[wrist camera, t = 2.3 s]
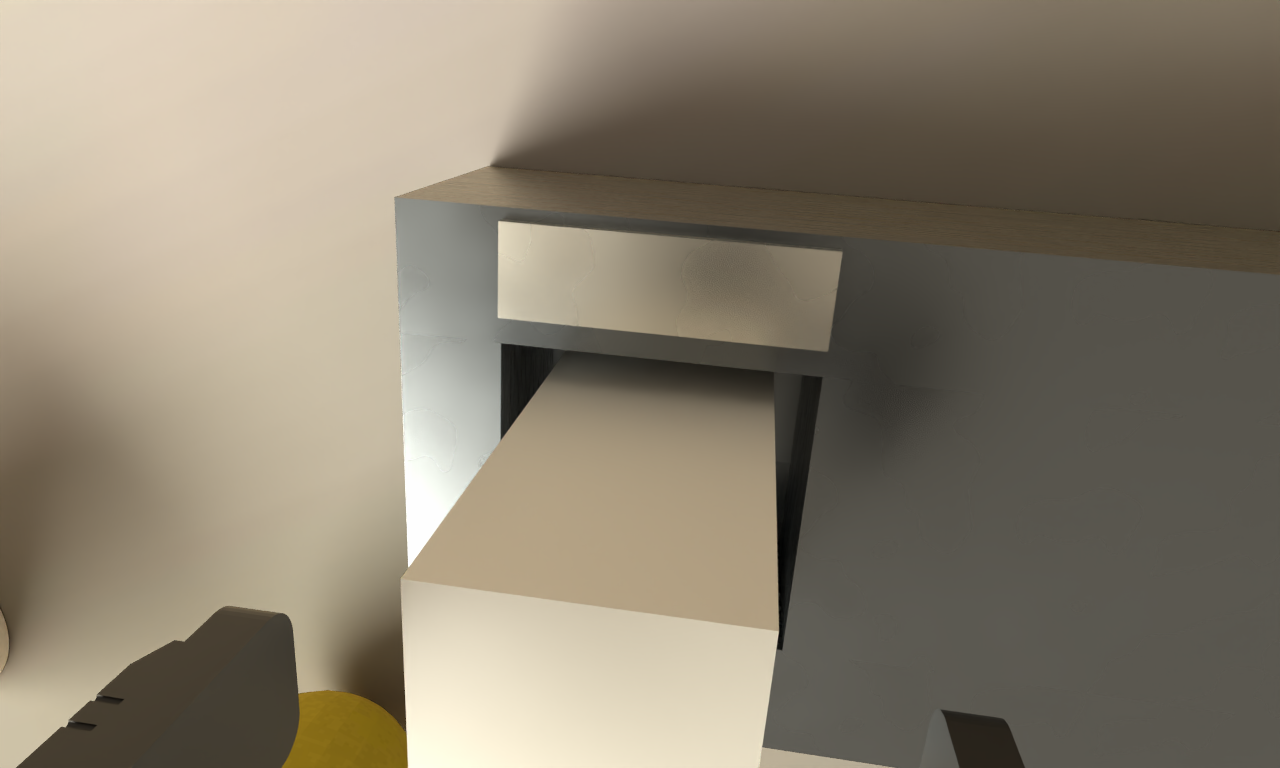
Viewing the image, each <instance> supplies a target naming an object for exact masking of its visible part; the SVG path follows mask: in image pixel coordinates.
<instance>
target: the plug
mask: <svg viewBox="0 0 1280 768" xmlns="http://www.w3.org/2000/svg"><path fill="white" fill-rule="evenodd" d="M400 583H401V607H402V631H403V656H404V680H405V704H406V728H407V752H408V768H759V766H760V759H761V752H762V745H763V738H764V731H765V724H766V717H767V710H768V703H769V697H770V690H771V683H772V676H773V669H774V662H775V655H776V648H777V641H778V634H779V610H778V561H777V512H776V463H775V414H774V372H769V371H760V370H750V369H741V368H731V367H722V366H713V365H703V364H694V363H684V362H675V361H665V360H656V359H646V358H637V357H627V356H618V355H608V354H599V353H589V352H580V351H571V350H566V352H565V353H564V354H563V356H562V357H561V358H560V360H559V361H558V363H557V364H556V365H555V367H554V368H553V369H552V371H551V372H550V374H549V375H548V376H547V378H546V379H545V380H544V382H543V383H542V385H541V386H540V387H539V389H538V390H537V391H536V393H535V394H534V396H533V397H532V398H531V400H530V401H529V402H528V404H527V405H526V407H525V408H524V409H523V411H522V412H521V414H520V415H519V416H518V418H517V419H516V420H515V422H514V423H513V425H512V426H511V427H510V429H509V430H508V431H507V433H506V434H505V436H504V437H503V438H502V440H501V441H500V442H499V444H498V445H497V447H496V448H495V449H494V451H493V452H492V453H491V455H490V456H489V458H488V459H487V460H486V462H485V463H484V464H483V466H482V467H481V469H480V470H479V471H478V473H477V474H476V475H475V477H474V478H473V480H472V481H471V482H470V484H469V485H468V486H467V488H466V489H465V491H464V492H463V493H462V495H461V496H460V498H459V499H458V500H457V502H456V503H455V504H454V506H453V507H452V509H451V510H450V511H449V513H448V514H447V515H446V517H445V518H444V520H443V521H442V522H441V524H440V525H439V526H438V528H437V529H436V531H435V532H434V533H433V535H432V536H431V537H430V539H429V540H428V542H427V543H426V544H425V546H424V547H423V548H422V550H421V551H420V553H419V554H418V555H417V557H416V558H415V559H414V561H413V562H412V564H411V565H410V566H409V568H408V569H407V570H406V572H405V573H404V575H403V576H402V577H401V579H400Z"/></svg>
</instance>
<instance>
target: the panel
mask: <svg viewBox="0 0 1280 768" xmlns="http://www.w3.org/2000/svg"><path fill="white" fill-rule="evenodd" d="M395 222H396V249H397V276H398V302H399V329H400V356H401V383H402V410H403V437H404V464H405V491H406V517H407V544H408V568H409V566H410V565H411V564H412V562H413V561H414V559H415V558H416V557H417V555H418V554H419V553H420V551H421V550H422V548H423V547H424V546H425V544H426V543H427V542H428V540H429V539H430V537H431V536H432V535H433V533H434V532H435V531H436V529H437V528H438V526H439V525H440V524H441V522H442V521H443V520H444V518H445V517H446V515H447V514H448V513H449V511H450V510H451V509H452V507H453V506H454V504H455V503H456V502H457V500H458V499H459V498H460V496H461V495H462V493H463V492H464V491H465V489H466V488H467V486H468V485H469V484H470V482H471V481H472V480H473V478H474V477H475V475H476V474H477V473H478V471H479V470H480V469H481V467H482V466H483V464H484V463H485V462H486V460H487V459H488V458H489V456H490V455H491V453H492V452H493V451H494V449H495V448H496V447H497V445H498V444H499V442H500V441H501V440H502V438H503V437H504V436H505V434H506V433H507V431H508V430H509V429H510V427H511V426H512V425H513V423H514V422H515V420H516V419H517V418H518V416H519V415H520V414H521V412H522V411H523V409H524V408H525V407H526V405H527V404H528V402H529V401H530V400H531V398H532V397H533V396H534V394H535V393H536V391H537V390H538V389H539V387H540V386H541V385H542V383H543V382H544V380H545V379H546V378H547V376H548V375H549V374H550V372H551V371H552V369H553V368H554V367H555V365H556V364H557V363H558V361H559V360H560V358H561V357H562V356H563V354H564V353H565V352H566V350H571V351H580V352H589V353H599V354H608V355H618V356H627V357H637V358H646V359H656V360H665V361H675V362H684V363H694V364H703V365H713V366H722V367H731V368H741V369H750V370H760V371H769V372H774V414H775V463H776V512H777V561H778V610H779V634H778V641H777V648H776V655H775V662H774V669H773V676H772V683H771V690H770V697H769V703H768V710H767V717H766V724H765V731H764V738H763V745H762V747H765V748H771V749H778V750H784V751H791V752H797V753H804V754H810V755H817V756H823V757H830V758H836V759H843V760H849V761H856V762H862V763H869V764H876V765H882V766H889V767H895V768H920V765H921V760H922V756H923V751H924V747H925V742H926V738H927V733H928V729H929V724H930V720H931V717H932V715H933V713H934V711H935V710H937V709H942V710H949V711H956V712H963V713H970V714H977V715H984V716H991V717H998V718H1002V719H1004V720H1005V721H1006V722H1007V724H1008V725H1009V728H1010V730H1011V732H1012V735H1013V738H1014V740H1015V743H1016V745H1017V748H1018V751H1019V753H1020V756H1021V758H1022V761H1023V764H1024V766H1025V768H1280V231H1269V230H1257V229H1244V228H1232V227H1220V226H1208V225H1196V224H1184V223H1172V222H1160V221H1147V220H1135V219H1123V218H1111V217H1099V216H1087V215H1075V214H1063V213H1050V212H1038V211H1026V210H1014V209H1002V208H990V207H978V206H966V205H954V204H941V203H929V202H917V201H905V200H893V199H881V198H869V197H857V196H844V195H832V194H820V193H808V192H796V191H784V190H772V189H760V188H747V187H735V186H723V185H711V184H699V183H687V182H675V181H663V180H650V179H638V178H626V177H614V176H602V175H590V174H578V173H566V172H553V171H541V170H529V169H517V168H505V167H493V166H487V167H484V168H481V169H478V170H475V171H472V172H469V173H466V174H463V175H460V176H457V177H454V178H451V179H448V180H445V181H442V182H439V183H436V184H433V185H430V186H427V187H424V188H421V189H418V190H415V191H412V192H409V193H406V194H403V195H400V196H397V197H395Z"/></svg>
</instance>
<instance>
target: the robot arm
mask: <svg viewBox="0 0 1280 768" xmlns="http://www.w3.org/2000/svg"><path fill="white" fill-rule="evenodd" d="M299 716H300V709H299V697H298V685H297V673H296V662H295V650H294V638H293V628H292V624H291V621H290V619H289V617H288V616H287V615H285V614H283V613H276V612H269V611H262V610H255V609H248V608H240V607H233V606H226V607H223V608H221V609H219V610H218V611H217V612H215V613H214V614H213V615H212V616H211V617H210V618H209V619H208V620H207V621H206V622H205V623H204V624H203V625H202V626H201V627H200V628H199V629H198V630H196V631H195V632H194V633H193V634H192V635H191V636H190V637H189V638H188V639H187V640H186V641H185V642H182V641H175V640H174V641H172V642H171V643H169V644H167V645H165V646H163V647H161V648H160V649H158V650H156V651H154V652H152V653H150V654H148V655H147V656H145V657H143V658H141V659H139V660H137V661H135V662H134V663H132V664H130V665H129V666H128V667H127V668H126V669H125V670H123V671H122V672H121V673H120V674H119V675H118V676H117V677H116V678H115V679H114V680H112V681H111V682H110V683H109V684H108V685H107V686H106V687H105V688H104V689H102V690H101V691H100V692H99V693H98V694H97V698H96V700H95V701H89V702H88V703H87V704H86V705H85V706H84V707H83V708H82V709H80V710H79V711H78V712H77V713H76V714H75V715H74V716H73V717H72V718H70V719H69V722H68V725H67V726H66V728H65V727H61V728H59V729H58V730H57V731H56V732H55V733H54V734H53V735H52V736H51V737H50V738H48V739H47V740H46V741H45V742H44V743H43V744H42V745H41V746H40V747H38V748H37V749H36V750H35V751H34V752H33V753H32V754H31V755H30V756H29V757H27V758H26V759H25V760H24V761H23V762H22V763H21V764H20V765H19V766H17V767H16V768H282V766H283V765H284V763H285V762H286V760H287V758H288V756H289V754H290V752H291V750H292V747H293V744H294V742H295V738H296V735H297V730H298V725H299ZM920 768H1025V766H1024V764H1023V761H1022V758H1021V756H1020V753H1019V751H1018V748H1017V745H1016V743H1015V740H1014V738H1013V735H1012V732H1011V730H1010V728H1009V725H1008V724H1007V722H1006V721H1005V720H1004V719H1002V718H998V717H991V716H984V715H977V714H970V713H963V712H956V711H949V710H942V709H937V710H935V711H934V713H933V715H932V717H931V720H930V724H929V729H928V733H927V738H926V742H925V747H924V751H923V756H922V760H921V765H920Z"/></svg>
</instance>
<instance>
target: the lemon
mask: <svg viewBox="0 0 1280 768" xmlns="http://www.w3.org/2000/svg"><path fill="white" fill-rule="evenodd" d="M298 697H299V709H300V716H299V725H298V730H297V735H296V738H295V742H294V744H293V747H292V750H291V752H290V754H289V756H288V758H287V760H286V762H285V763H284V765H283V766H282V768H408V752H407V733H406V732H405V731H404V730H403V728H402V727H401V726H400V724H399V723H398V722H397V721H396V719H395V718H394V717H393V716H392V715H391V714H389V713H388V712H387V711H386V710H385V709H383V708H382V707H381V706H379V705H377V704H376V703H374V702H372V701H370V700H369V699H367V698H364V697H361V696H358V695H355V694H352V693H346V692H338V691H330V690H326V691H316V692H307V693H300V694H298Z"/></svg>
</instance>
